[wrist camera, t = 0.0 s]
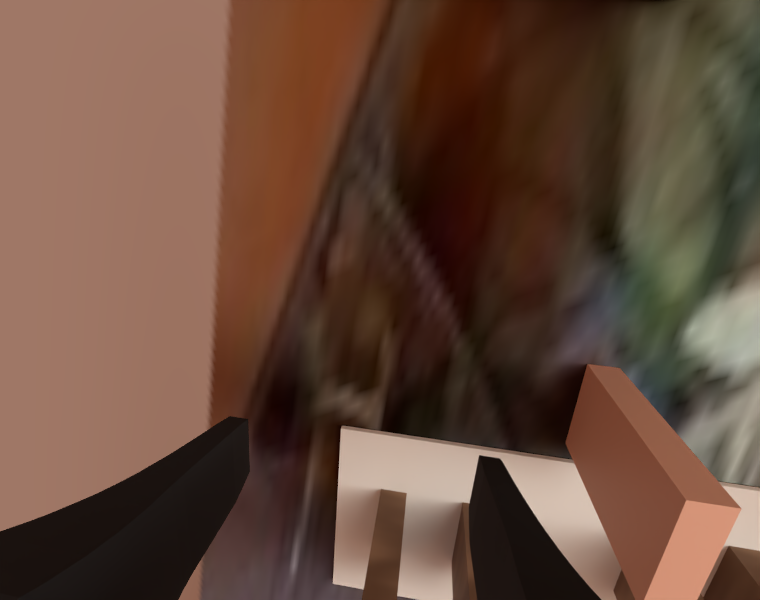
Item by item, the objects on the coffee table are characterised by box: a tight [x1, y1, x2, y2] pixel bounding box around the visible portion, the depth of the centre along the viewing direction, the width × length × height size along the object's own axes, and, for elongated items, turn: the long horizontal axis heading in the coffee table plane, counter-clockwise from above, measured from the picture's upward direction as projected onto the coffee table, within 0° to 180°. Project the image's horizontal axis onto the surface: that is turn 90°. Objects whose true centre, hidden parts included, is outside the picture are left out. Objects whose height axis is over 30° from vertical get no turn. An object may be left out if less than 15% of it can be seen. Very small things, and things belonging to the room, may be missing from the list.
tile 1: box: [362, 489, 407, 600], centre depth 22 cm, size 2×5×9 cm, turn 176°
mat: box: [333, 425, 760, 600], centre depth 25 cm, size 13×25×1 cm, turn 86°
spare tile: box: [565, 364, 741, 600], centre depth 18 cm, size 2×5×9 cm, turn 176°
